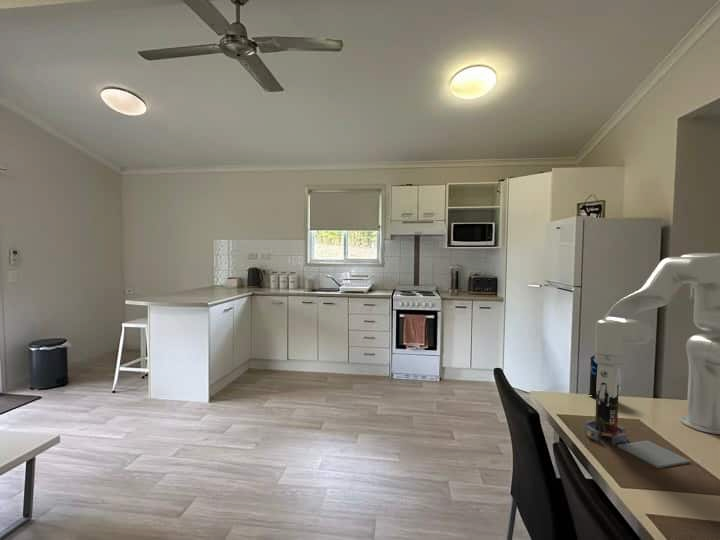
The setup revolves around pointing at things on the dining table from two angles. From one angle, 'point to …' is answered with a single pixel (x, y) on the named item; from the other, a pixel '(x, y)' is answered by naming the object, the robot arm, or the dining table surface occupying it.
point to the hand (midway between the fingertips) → (606, 413)
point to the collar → (595, 434)
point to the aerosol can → (593, 377)
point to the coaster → (653, 454)
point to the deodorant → (610, 424)
